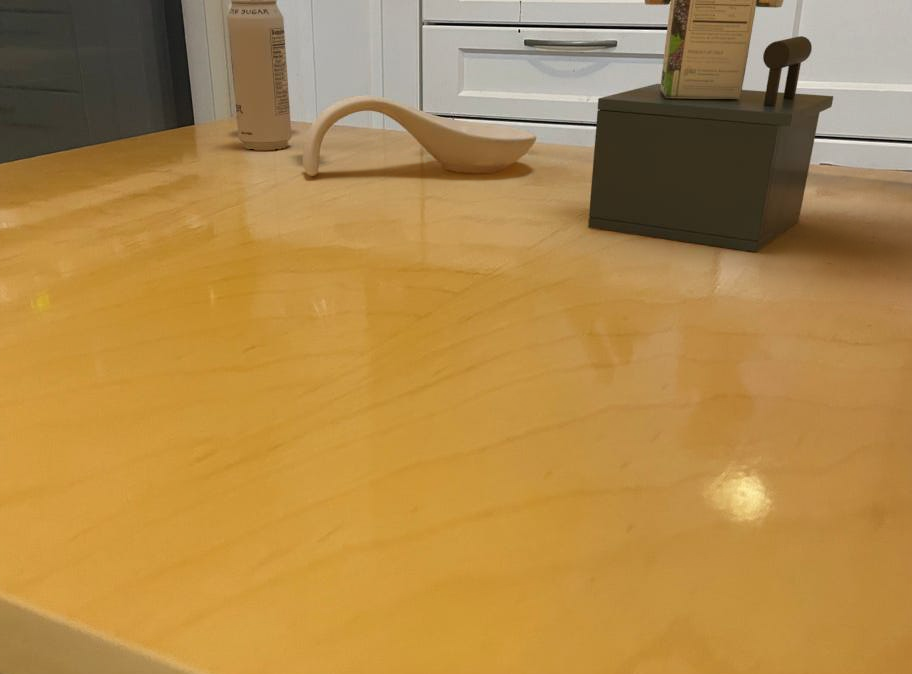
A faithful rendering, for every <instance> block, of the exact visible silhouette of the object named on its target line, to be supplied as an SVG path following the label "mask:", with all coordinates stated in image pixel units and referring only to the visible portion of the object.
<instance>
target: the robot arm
mask: <svg viewBox="0 0 912 674" xmlns="http://www.w3.org/2000/svg"><path fill="white" fill-rule="evenodd" d="M783 3H784V0H757V2H756V8H774V9H775V8H776V9H777V8H781V7H782V6H783ZM644 4H645V5H647V6H648V5H649V6H667V5H670V4H671V0H644Z"/></svg>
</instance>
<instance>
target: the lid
mask: <svg viewBox="0 0 912 674" xmlns="http://www.w3.org/2000/svg"><path fill="white" fill-rule="evenodd" d="M812 49H813V47H812V42H811V41H810V39H809V38H807V37H806V36H801V35H800V36H795V37H789V38H786V39H780V40H777V41H773V42H771V43H770V44H768V45H767V46H766V47H765V49H764V51H763V54H762V60H763V63H764V65H765V66H766V67H767V68H768V69H769V71H768V76H767V83H766V88H765V90H753V89H751V90H749V89H742V93H741V98H740V99H681V98H665V96H664V94H663V92H662V91H661V83H655V84H649V85H645V86H643V87H638V88H635V89H631V90H625V91H623V92H619V93H614V94H610V95H606V96H602V97H598V100H597V111H598V110H609V111H621V112H632V113H644V114H655V115H666V116H678V117H689V118H701V119H712V120H724V121H735V122H746V123H758V124H769V125H781V126H791V125H793V124H796V123H798V122H800V121H802V120H804V119H806V118H809V117H811V116H813V115H815V114H817V113H819V112H820V113H821V112H824V111H826V110H828V109H830V108H832V106H833V102H834V96H833V95H823V94H822V95H821V94H807V93H797V87H798V81H799V77H800V71H801V65H802V63H803V62H805V61H807V60H808V58H809V57H810V56H811V53H812ZM787 67H788V68H787ZM784 68H787V74H786V79H785V80H786V81H785V85H784V91H783V92H782V91H781V92H780V91H779V88H780V82H781V77H782V70H783V69H784ZM820 113H819V114H820Z"/></svg>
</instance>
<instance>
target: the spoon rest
mask: <svg viewBox="0 0 912 674" xmlns="http://www.w3.org/2000/svg"><path fill="white" fill-rule="evenodd" d="M359 112H376V113H380V114H381V115H385V116H386V117H388V118H390V119H392V120H394V121H395V122H396V123H398V124H399V125H400V126H401V127H402V128H403V129H404V130H406V131H407V132H408V133H409V134H410V135H411V136H412V137H413V138H414V139H415V140H416V141H417V142H418V144H420V146H422V148H423V149H424V150H426V152H427V153H428V154H429V155H430V156H431V157H433V159H434V160H436V161H437V162H438V163H439V164H440V165H441V166H442V168H443V169H445V170H447V171H451V172H456V173H462V174H463V173H464V174H465V173H466V174H490V173H497V172H500V171H501V170H503V169H504V168H507V167H510V166H511V165H513V164H515V163H517V162H518V161H519V160H520V159H521V158H523V157H524V156H525V155H526V154H527V153H528V152H529V151H530V150H531V148H532V147H533V146H534V144H535V143H536V141H537V135H536V134H535V133H533V132H531V131H528V130H525V129H521V128H516V127H511V126H505V125H500V124H493V123H492V124H491V123H485V122H476V121H467V120H460V119H454V118H448V117H443V116H438V115H435V114H432V113H429V112H425V111H423V110H420V109H418V108H415V107H413V106H410V105H407V104H405V103H402V102H400V101H396V100H394V99H390V98H388V97H382V96H377V95H366V94H365V95H355V96H350V97H346V98H344V99H341V100H339V101H337V102H334V103H333V104H331V105H329V106H328V107H326V108H325V109H324V110H323V111H322V112H321V113H320V114H319V115H317V117H316V118H315V119H314V121H313V123H312V124H311V126H310V127H309V129H308V132H307V134H306V137H305V141H304V144H303V150H302V167H303V170H304V172H305V173H306V174H307V175H308V176H311V177H313V176H317V175H318V173H319V169H320V152H321V151H320V150H321V147H322V143H323V140H324V138H325V136H326V133H327V132H328V131H329V129H330V128H331V127H332V126H333V125H334V124H335V123H337V122H338V121H340V120H341V119H343V118H345V117H347V116H349V115H353V114H356V113H359Z"/></svg>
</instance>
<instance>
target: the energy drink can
mask: <svg viewBox="0 0 912 674" xmlns="http://www.w3.org/2000/svg"><path fill="white" fill-rule="evenodd" d="M230 1H231V2H230V3H231V7H230V9H229V12H228V14H227V17H226V20H227V30H228V41H229V52H230V63H231V71H232V73H231V74H232V82H233V83H232V84H233V94H234V103H235V104H234V106H235V114H236V116H235V117H236V125H237V136H238V140H239V141H240V142H241V143H242V144H243V148H244V147H245V148H244V149H246V148H247V149H246V150H249V149H254V150H253V151H276V150H275V149H278V150H283V149H286V148H288V142H289V141H290V140H291V139H292V122H291V107H290V93H289V80H288V79H289V78H288V63H287V51H286V50H287V49H286V36H285V21H284V20H285V19H284V16H283V14H282V13H281V10H280V9H279V6H278V5H277V0H230ZM285 147H286V148H285ZM282 148H283V149H282Z"/></svg>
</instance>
